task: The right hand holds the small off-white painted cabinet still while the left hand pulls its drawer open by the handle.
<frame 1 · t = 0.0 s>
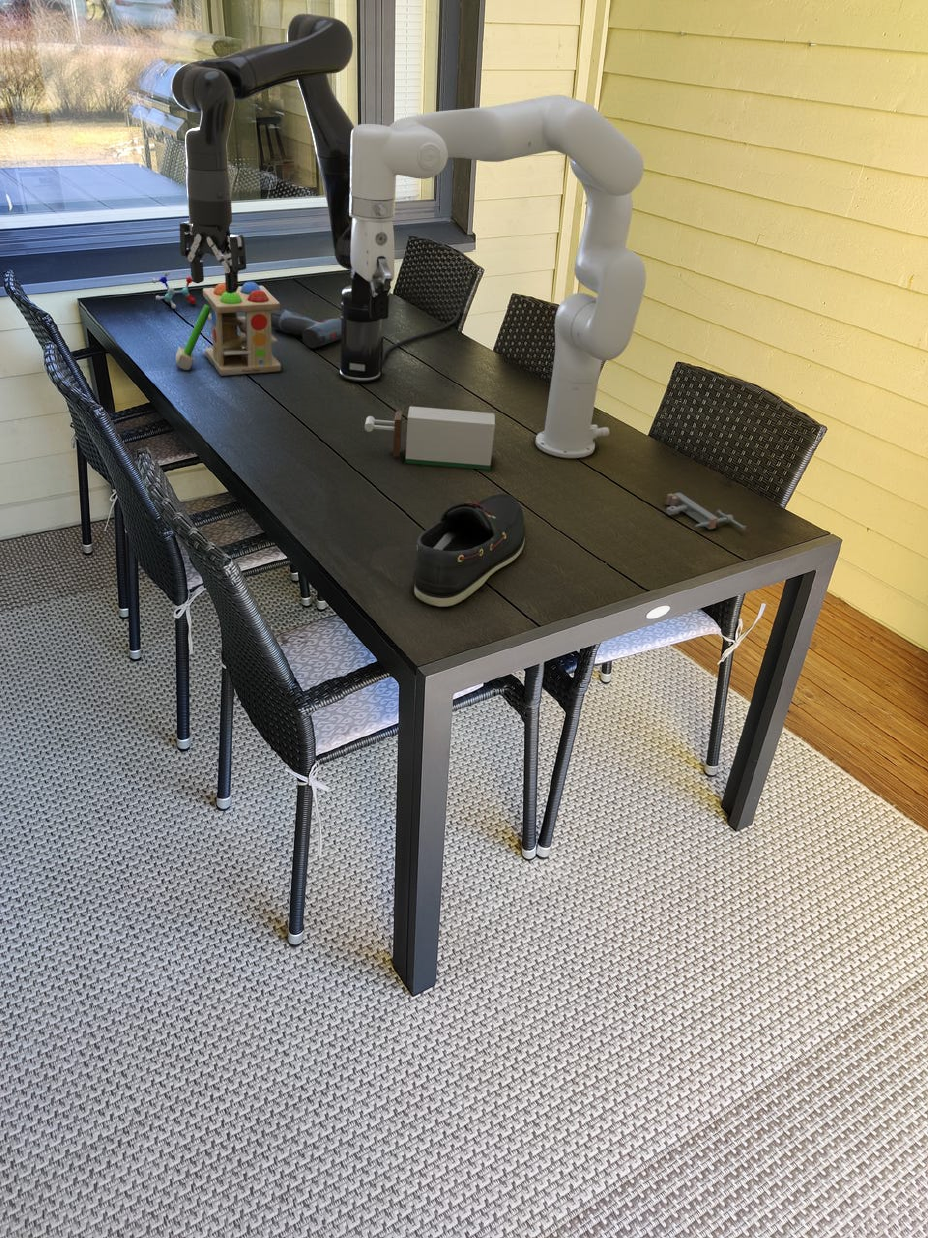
left hand: (214, 287, 183), 29 cm above the table, tool pointing down, fingers open, 8 cm apart
right hand: (369, 309, 173), 31 cm above the table, tool pointing down, fingers open, 9 cm apart
drawer: (419, 435, 195), point 5 cm above the table, slide at 1.3 cm
molecular model: (174, 304, 264), on the table
power drill: (311, 334, 253), on the table
clamp: (698, 520, 185), on the table
cabinet: (448, 460, 198), on the table
pounding bench toy: (225, 365, 230), on the table
boat shoe: (470, 560, 166), on the table
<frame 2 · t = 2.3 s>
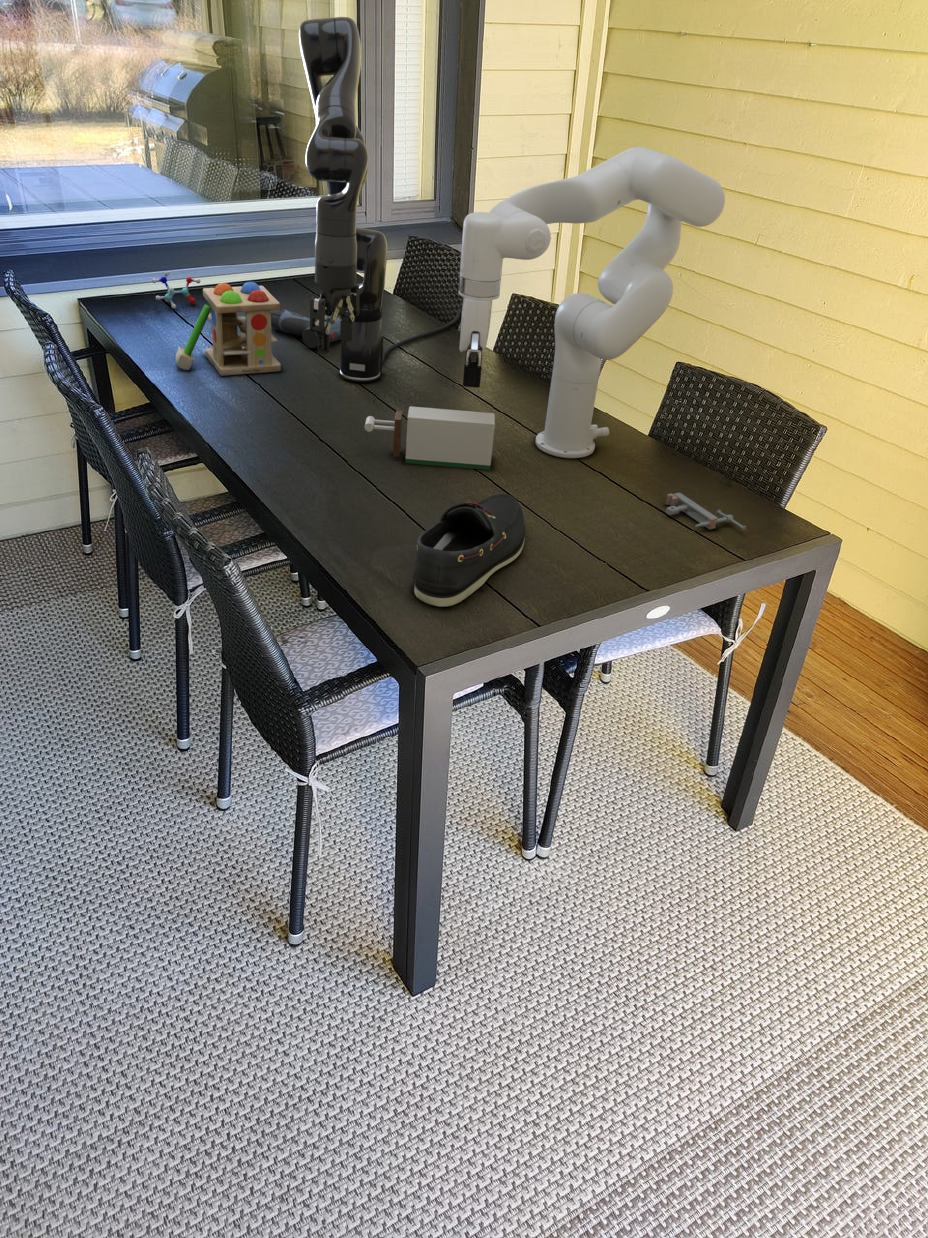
left hand: (334, 346, 186), 21 cm above the table, tool pointing down, fingers open, 8 cm apart
right hand: (472, 376, 187), 18 cm above the table, tool pointing down, fingers open, 9 cm apart
nothing on the table moved.
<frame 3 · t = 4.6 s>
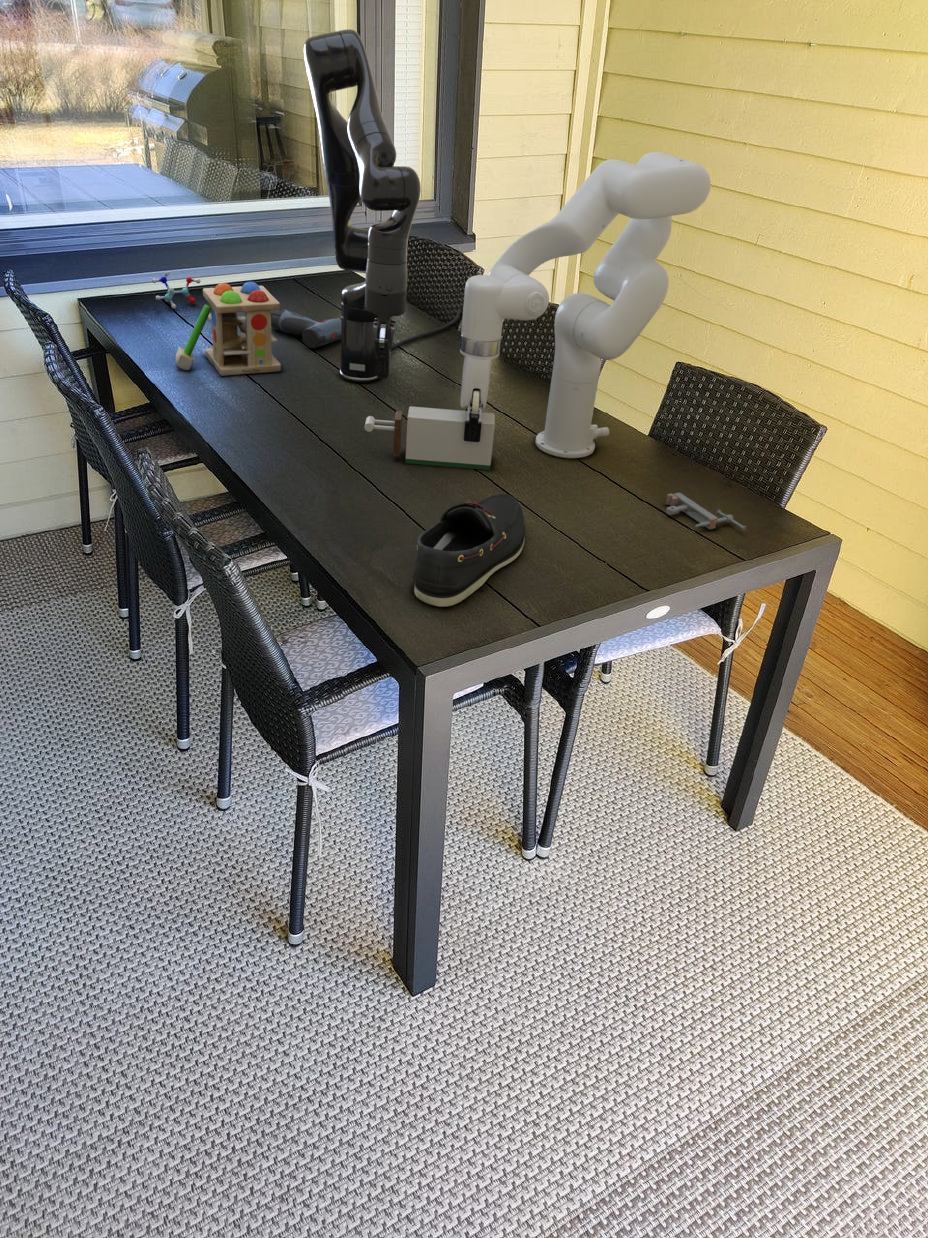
left hand: (382, 376, 188), 16 cm above the table, tool pointing down, fingers closed
right hand: (471, 433, 194), 6 cm above the table, tool pointing down, fingers closed on cabinet, 5 cm apart
cabinet: (448, 460, 198), on the table, touching right hand
everything else where it was.
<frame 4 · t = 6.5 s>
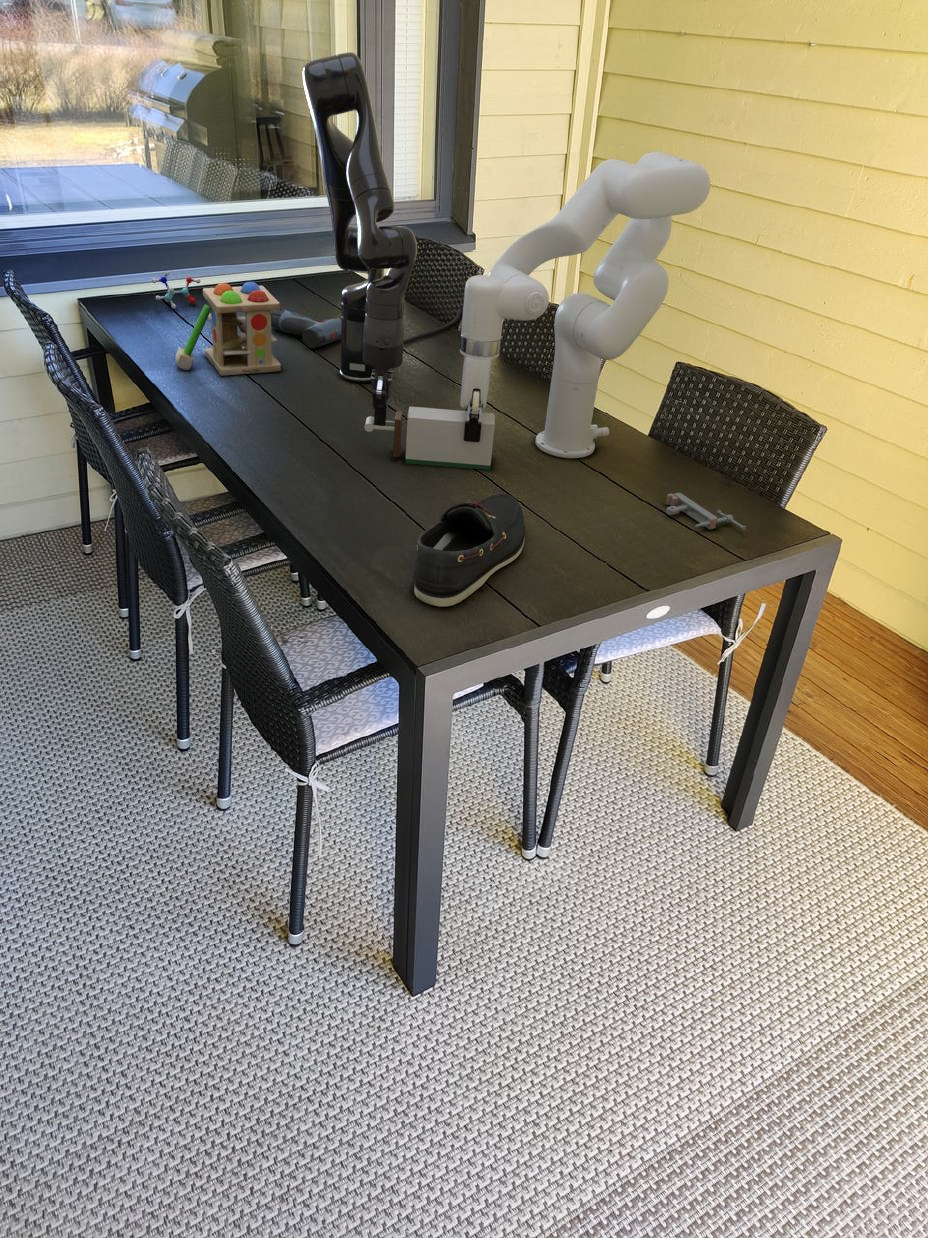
left hand: (379, 425, 193), 6 cm above the table, tool pointing down, fingers closed
right hand: (471, 433, 194), 6 cm above the table, tool pointing down, fingers closed on cabinet, 5 cm apart
drawer: (419, 435, 195), point 5 cm above the table, slide at 1.3 cm, touching left hand
cabinet: (448, 460, 198), on the table, touching right hand
everything else where it was.
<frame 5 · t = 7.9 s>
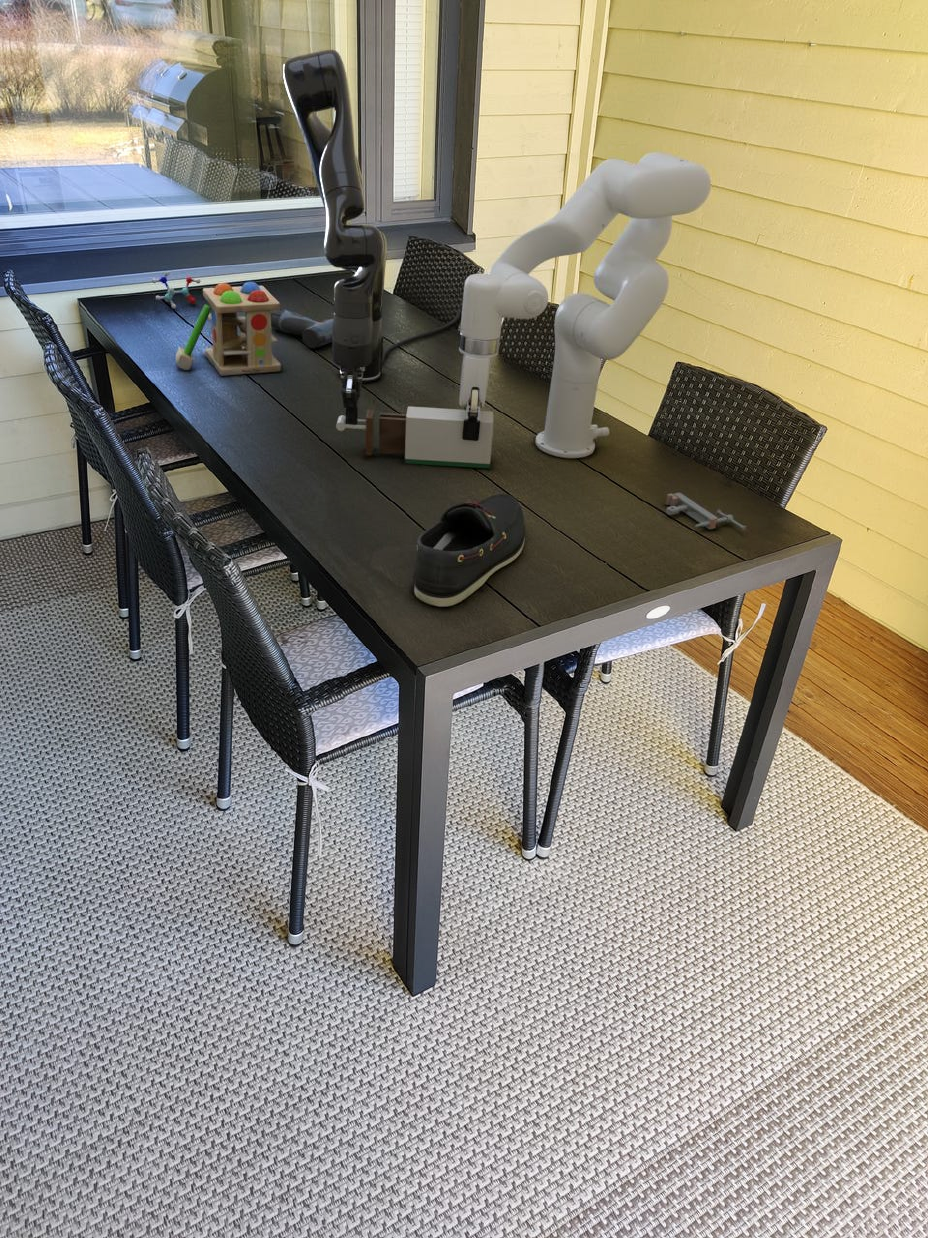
left hand: (351, 424, 193), 6 cm above the table, tool pointing down, fingers closed
right hand: (470, 432, 194), 6 cm above the table, tool pointing down, fingers closed on cabinet, 5 cm apart
drawer: (391, 433, 194), point 5 cm above the table, slide at 6.6 cm, touching left hand
cabinet: (447, 459, 197), on the table, touching right hand
everything else where it was.
when the right hand's fingers open (6 cm above the table, at t = 9.7 s): cabinet stays where it is, on the table.
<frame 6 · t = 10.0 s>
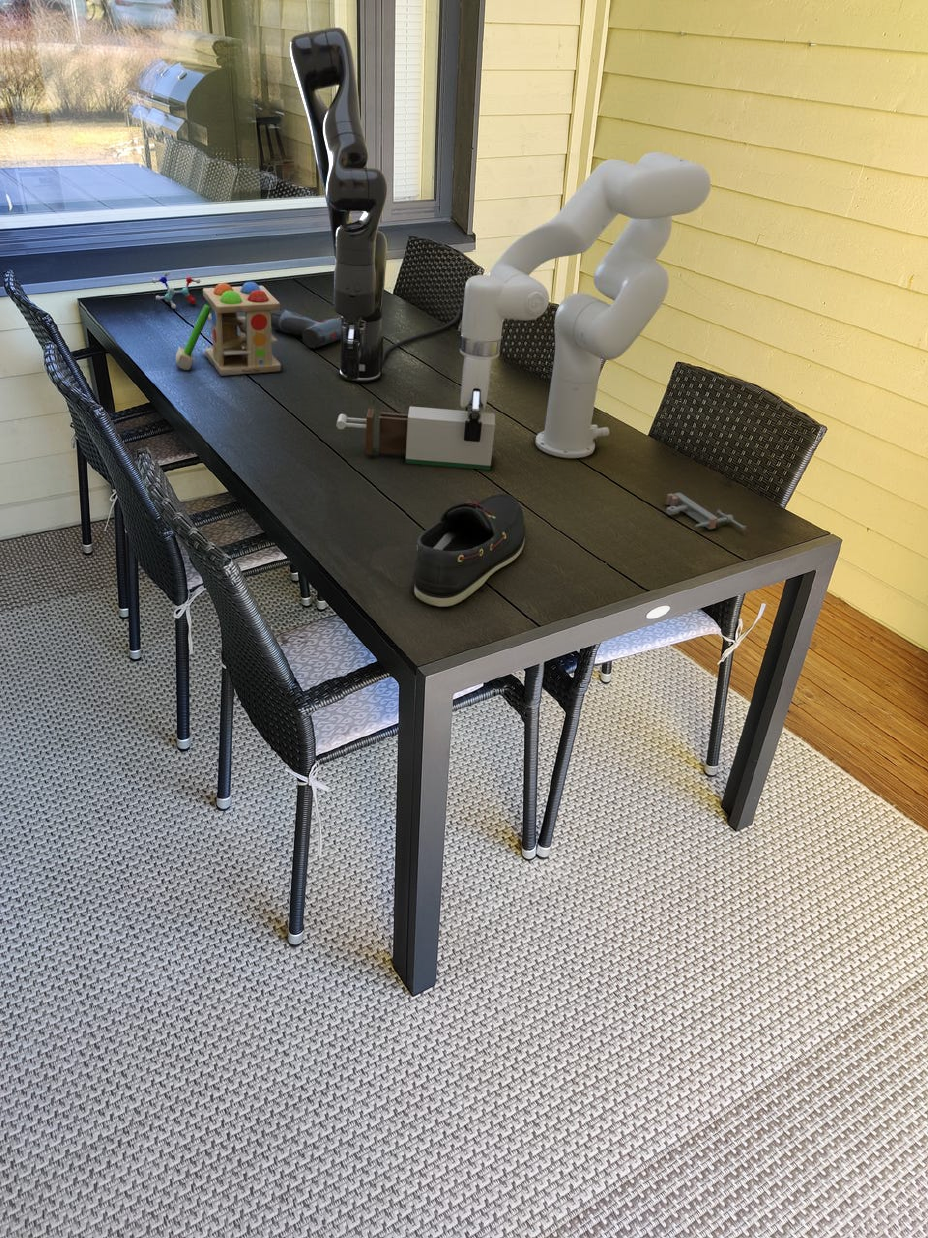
left hand: (352, 377, 188), 16 cm above the table, tool pointing down, fingers closed
right hand: (472, 431, 194), 7 cm above the table, tool pointing down, fingers open, 7 cm apart
drawer: (392, 433, 194), point 5 cm above the table, slide at 6.8 cm
cabinet: (448, 460, 197), on the table
everything else where it was.
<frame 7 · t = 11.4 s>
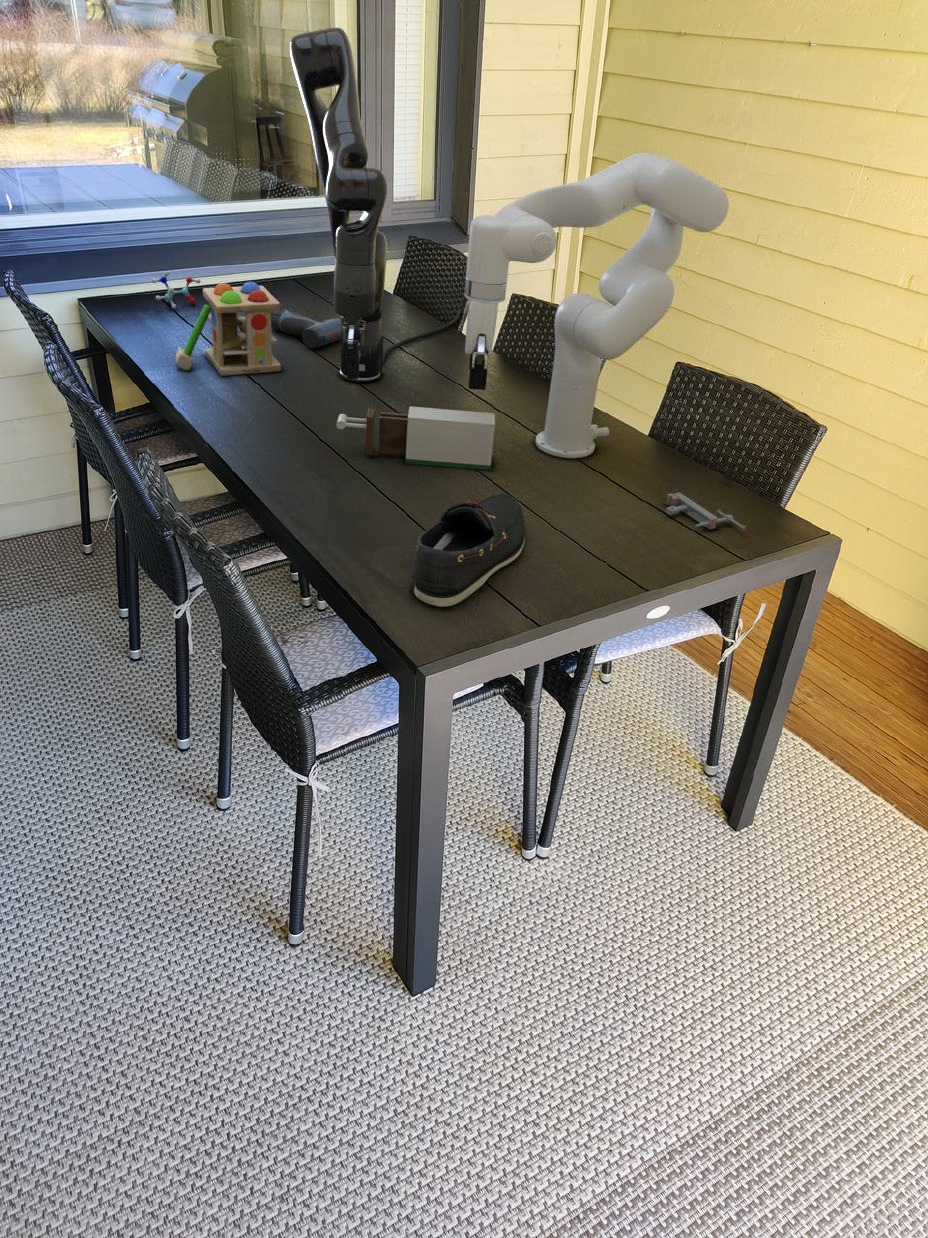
left hand: (352, 377, 188), 16 cm above the table, tool pointing down, fingers closed
right hand: (477, 379, 188), 17 cm above the table, tool pointing down, fingers open, 9 cm apart
nothing on the table moved.
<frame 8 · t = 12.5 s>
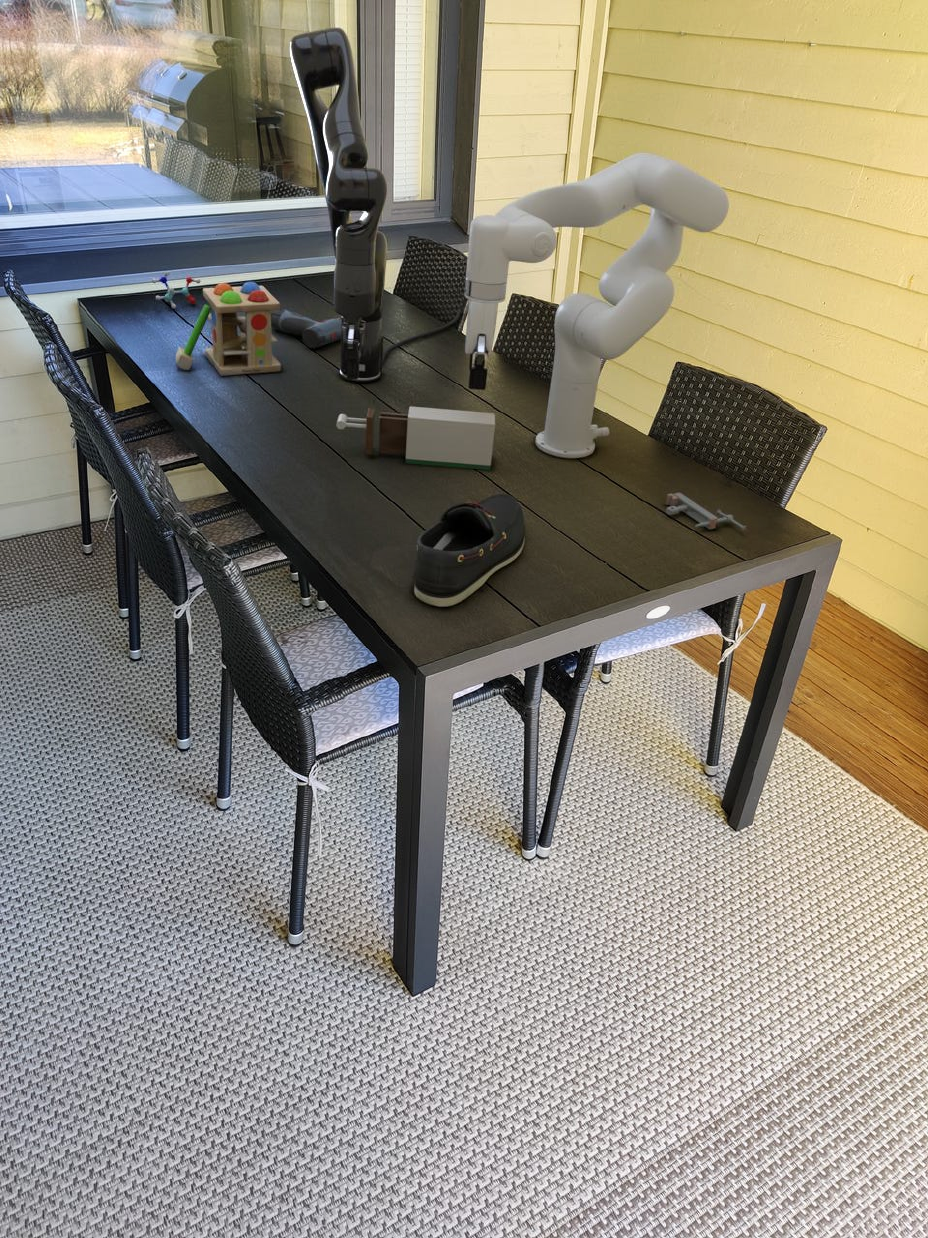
left hand: (352, 377, 188), 16 cm above the table, tool pointing down, fingers closed
right hand: (477, 379, 188), 17 cm above the table, tool pointing down, fingers open, 9 cm apart
nothing on the table moved.
at the end: drawer slide at 6.8 cm; cabinet tilted 0°; cabinet never tilted more than 2° during the clip; cabinet moved 0.0 cm from its start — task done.
